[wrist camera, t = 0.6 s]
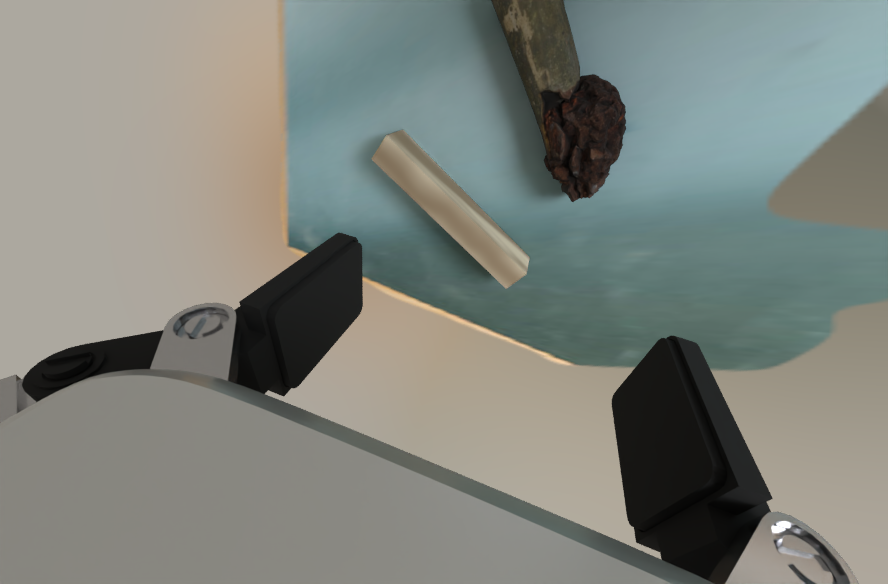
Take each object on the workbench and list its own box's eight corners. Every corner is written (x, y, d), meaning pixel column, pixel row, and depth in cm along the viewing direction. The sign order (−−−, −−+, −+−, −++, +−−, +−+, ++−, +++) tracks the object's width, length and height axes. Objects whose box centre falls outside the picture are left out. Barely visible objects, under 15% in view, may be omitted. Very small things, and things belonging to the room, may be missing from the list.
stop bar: (402, 129, 33) (386, 135, 30) (529, 257, 37) (526, 274, 34) (388, 151, 35) (371, 159, 32) (510, 271, 39) (506, 288, 36)
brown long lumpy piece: (493, -1, 26) (479, -18, 21) (578, -66, 22) (584, -102, 18) (559, 197, 32) (559, 215, 28) (632, 169, 29) (646, 185, 25)
